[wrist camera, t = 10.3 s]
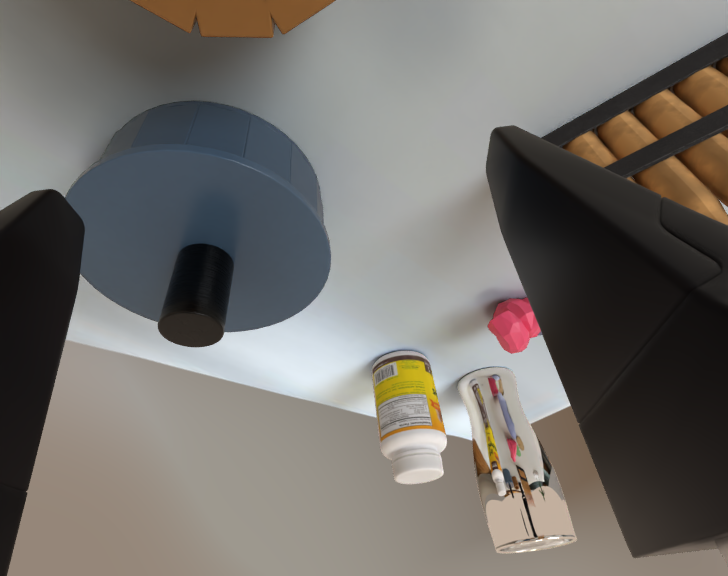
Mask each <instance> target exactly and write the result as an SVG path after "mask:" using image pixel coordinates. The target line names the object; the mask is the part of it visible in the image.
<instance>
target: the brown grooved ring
mask: <svg viewBox="0 0 728 576" xmlns="http://www.w3.org/2000/svg"><path fill="white" fill-rule="evenodd" d="M130 1H132V2H134V3H135V4H137V5H139V6H141V7H143V8H144V9H146V10H148V11H150V12H152V13H153V14H155V15H157V16H159V17H161V18H162V19H164V20H166V21H168V22H170V23H172V24H173V25H175V26H177V27H179V28H181V29H182V30H184V31H186V32H188V33H191V31H192V29H193V27H194V25H195V23H196V21H197V22H198V26H199V30H200V34H201V36H203V37H252V38H272V37H273V35H274V28H275V23H276V25H277V26H278V28H279V30H280V31H281V33H282V34H285V33H287V32H289V31H290V30H292V29H293V28H295V27H296V26H298V25H299V24H301V23H302V22H304V21H305V20H307V19H308V18H310V17H311V16H313V15H314V14H316V13H317V12H319V11H320V10H322V9H323V8H325V7H326V6H328V5H330V4H331V3H333V2H334V1H336V0H130Z"/></svg>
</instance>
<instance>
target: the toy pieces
mask: <svg viewBox="0 0 728 576" xmlns="http://www.w3.org/2000/svg"><path fill="white" fill-rule="evenodd" d="M488 328H489V330H490V331H491V332H492V333H493V334H494V335H495V336H496V337H497V339H498V341H499V343H500V345H501V346H502V348H503V349H504V350H506V351H508V352H510V353H511V354H512V353H517V352H522V351H523V350H524V349H526V348H527V345H528V343H529V340H530V338H532V337H536V336H537V335H542V332H541V330H540V327H539V325H538V322H537V320H536V318H535V315H534V313H533V310H532V308H531V305H530V303H529V300H528V298H524V299H522V300H521V299H512V298H510V299H508V300H506V301H504V302H502V303H499V304H498V306H497V308H496V310H495V312H494V314H493V319H492V320H491V321H490V322H489V324H488Z"/></svg>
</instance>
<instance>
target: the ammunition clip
mask: <svg viewBox="0 0 728 576" xmlns="http://www.w3.org/2000/svg"><path fill="white" fill-rule="evenodd" d="M542 139H544V140H546V141H548V142H550V143H552V144H554V145H556V146H558V147H561V148H563V149H565V150H567V151H569V152H571V153H573V154H575V155H577V156H580V157H582V158H584V159H586V160H588V161H590V162H592V163H594V164H596V165H599V166H601V167H603V168H605V169H607V170H609V171H611V172H613V173H615V174H618V175H620V176H622V177H624V178H626V179H628V180H630V181H632V182H634V183H637V184H639V185H641V186H643V187H645V188H647V189H649V190H651V191H653V192H656V193H658V194H660V195H661V198H663V197H666V198H668V199H671V200H673V201H675V202H677V203H679V204H681V205H683V206H685V207H687V208H690V209H692V210H694V211H696V212H698V213H701V214H703V215H705V216H707V217H709V218H712V219H714V220H716V221H719V222H721V223H724V224H726V225H728V215H727V213H726V212H725V210H724V208H723V206H722V205H721V203H720V201H721V202H722V203H723V204H725V205H726V206H728V33H727V34H726V35H724V36H722V37H720V38H718V39H717V40H715V41H713V42H711V43H710V44H708V45H706V46H704V47H702V48H701V49H699V50H697V51H695V52H694V53H692V54H690V55H688V56H686V57H685V58H683V59H681V60H679V61H678V62H676V63H674V64H672V65H670V66H669V67H667V68H665V69H663V70H662V71H660V72H658V73H656V74H655V75H653V76H651V77H649V78H647V79H646V80H644V81H642V82H640V83H639V84H637V85H635V86H633V87H631V88H630V89H628V90H626V91H624V92H623V93H621V94H619V95H617V96H615V97H614V98H612V99H610V100H608V101H607V102H605V103H603V104H601V105H599V106H598V107H596V108H594V109H592V110H591V111H589V112H587V113H585V114H583V115H582V116H580V117H578V118H576V119H575V120H573V121H571V122H569V123H568V124H566V125H564V126H562V127H560V128H559V129H557V130H555V131H553V132H552V133H550V134H548V135H546V136H544V137H543V138H542ZM631 176H632V177H633V178H634V179H633V178H632V177H631ZM718 199H719V200H720V201H719V200H718Z"/></svg>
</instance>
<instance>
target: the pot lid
mask: <svg viewBox="0 0 728 576" xmlns="http://www.w3.org/2000/svg"><path fill="white" fill-rule="evenodd" d="M65 199H66V200H67V202H68V203H69V204H70V205H71V206H72V208H73V209H74V210H75V211H76V212H77V214H78V215H79V216H80V217H81V219H82V220H83V222H84V226H85V235H84V243H83V251H82V260H81V268H80V274H81V275H82V276H83V277H84V278H85V279H86V280H87V281H88V282H89V283H90V284H91V285H92V286H93V287H94V288H95V289H97V290H98V291H99V292H101V293H102V294H103V295H104V296H106V297H107V298H109V299H110V300H112V301H114V302H115V303H117V304H118V305H120V306H122V307H124V308H126V309H128V310H129V311H131V312H134V313H136V314H138V315H140V316H143V317H145V318H148V319H151V320H154V321H156V322H158V329H159V332H160V333H161V335H162V336H163V337H164V338H166V339H167V340H169V341H171V342H173V343H175V344H178V345H182V346H187V347H205V346H210V345H213V344H215V343H217V342H218V341H219V340H220V339H221V338H222V337H223V335H224V332H238V331H247V330H253V329H259V328H263V327H267V326H270V325H273V324H276V323H279V322H282V321H284V320H286V319H288V318H290V317H292V316H294V315H295V314H297V313H299V312H300V311H302V310H303V309H304V308H306V307H307V306H308V305H309V304H310V303H311V302H312V301H313V300H314V299H315V298H316V297H317V296H318V294H319V293H320V292H321V290H322V289H323V287H324V285H325V283H326V281H327V278H328V275H329V271H330V265H331V250H330V241H329V238H328V234H327V231H326V228H325V226H324V224H323V222H322V220H321V218H320V216H319V215H318V213H317V212H316V210H315V209H314V207H313V206H312V205H311V203H310V202H309V201H308V200H307V199H306V198H305V197H304V196H303V195H302V194H301V193H300V192H299V191H298V190H297V189H296V188H295V187H293V186H292V185H291V184H290V183H289V182H287V181H286V180H285V179H283V178H282V177H280V176H279V175H277V174H276V173H274V172H273V171H271V170H269V169H267V168H265V167H263V166H261V165H259V164H257V163H255V162H253V161H251V160H248V159H246V158H243V157H241V156H238V155H235V154H232V153H229V152H225V151H221V150H218V149H214V148H209V147H202V146H196V145H188V144H154V145H145V146H140V147H135V148H129V149H126V150H123V151H120V152H117V153H114V154H111V155H109V156H107V157H105V158H103V159H101V160H100V161H98V162H96V163H94V164H93V165H92V166H90V167H89V168H88V169H87V170H85V171H84V172H83V173H82V174H81V175H80V176H79V177H78V178H77V180H76V181H75V182H74V183H73V184H72V186H71V188H70V189H69V191H68V193H67V195H66V197H65Z"/></svg>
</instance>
